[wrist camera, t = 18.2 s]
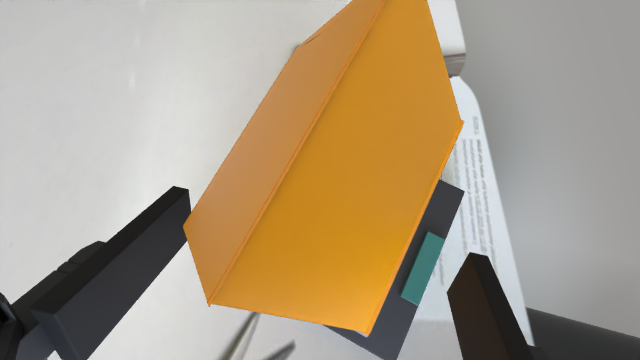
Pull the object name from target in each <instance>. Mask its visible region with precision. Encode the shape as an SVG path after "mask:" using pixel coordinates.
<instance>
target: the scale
mask: <svg viewBox="0 0 640 360" xmlns="http://www.w3.org/2000/svg"><path fill="white" fill-rule="evenodd" d="M464 192H465V191H463V190H461V189H459V188H456V187H454V186H452V185H450V184H448V183H446V182H444V181H441V180H438V183H437V185H436V187H435V189H434V192H433V194H432V196H431V198H430V201H429V203H428V205H427V207H426V209H425V212H424V214H423V216H422V218H421V221H420V223H419V225H418V227H417V230H416V232H415V234H414V236H413V238H412V241H411V243H410V245H409V247H408V250H407V252H406V254H405V256H404V259H403V261H402V263H401V265H400V268H399V270H398V272H397V274H396V276H395V279H394V281H393V283H392V285H391V288H390V290H389V292H388V294H387V297H386V299H385V301H384V303H383V306H382V308H381V310H380V312H379V314H378V317H377V319H376V321H375V323H374V326H373V328H372V330H371V332H370V334H369V336H367V335H365V334H363V333H361V332H360V331H355V330H350V329H345V328H339V327H334V326H328V325H324V326H326V327H328V328H329V329H331V330H333V331H335V332H336V333H338V334H340V335H342V336H343V337H345V338H347V339H349V340H350V341H352V342H354V343H355V344H357V345H359V346H361V347H362V348H364V349H366V350H368V351H369V352H371V353H373V354H375V355H376V356H378V357H380V358H382V359H383V360H396V359H397V357H398V355H399V352H400V350H401V347H402V345H403V342H404V340H405V337H406V335H407V332H408V330H409V328H410V325H411V323H412V320H413V318H414V315H415V313H416V310H417V308H418V305H419V303H420V301H421V298H422V296H423V293H424V291H425V288H426V286H427V283H428V281H429V278H430V276H431V274H432V271H433V269H434V266H435V264H436V261H437V259H438V256H439V254H440V251H441V249H442V247H443V244H444V242H445V239H446V237H447V234H448V232H449V229H450V227H451V224H452V222H453V219H454V217H455V215H456V212H457V210H458V207H459V205H460V202H461V200H462V197H463V195H464ZM322 325H323V324H322Z"/></svg>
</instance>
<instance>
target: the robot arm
mask: <svg viewBox="0 0 640 360" xmlns="http://www.w3.org/2000/svg"><path fill="white" fill-rule="evenodd" d="M190 214H191V206H190V198H189V190H188V189H185V188H180V187H176V186H173V187H172V188H170V189H169V190H168V191H167V192H166V193H164V194H163V195H162V196H161V197H160V198H159V199H157V200H156V201H155V202H154V203H153V204H151V205H150V206H149V207H148V208H147V209H145V210H144V211H143V212H142V213H141V214H140V215H138V216H137V217H136V218H135V219H134V220H132V221H131V222H130V223H129V224H128V225H126V226H125V227H124V228H123V229H122V230H120V231H119V232H118V233H117V234H116V235H115V236H113V237H112V238H111V239H110V240H109V241H107V242H106V243H105V242H101V241H97V242H95V243H93V244H91V245H89V246H87V247H84V248H82V249H81V250H80V251H78V252H77V253H76V254H75V255H73V256H72V257H71V258H70V259H69V260H68V262H65V263H63V264H62V265H61V266H60V267H58V269H57V270H56V271H53V272H52V273H51V274H49V275H48V276H47V277H46V278H44V279H43V280H42V281H41V282H39V283H38V284H37V285H36V286H34V287H33V288H32V289H31V290H29V291H28V292H27V293H26V294H24V295H23V296H22V297H20V298H19V299H18V300H17V301H15V302H14V303H13V304H11V305H10V303H9V302H8V300H7V299H6V298H5V296H4V295H3V294H2V293H0V360H48V359H47V358H48V357H49V356H50V354H51V353H52V352H53V351H54V350H56V352H57V353H58V355H59V356H60V358H61V359H62V360H87V359H88V358H89V357H90V356H91V354H92V353H93V352H94V351H95V350H96V348H97V347H98V346H99V345H100V344H101V342H102V341H103V340H104V339H105V338H106V337H107V335H108V334H109V333H110V332H111V331H112V329H113V328H114V327H115V326H116V325H117V323H118V322H119V321H120V320H121V319H122V318H123V316H124V315H125V314H126V313H127V312H128V310H129V309H130V308H131V307H132V306H133V304H134V303H135V302H136V301H137V300H138V299H139V297H140V296H141V295H142V294H143V293H144V291H145V290H146V289H147V288H148V287H149V285H150V284H151V283H152V282H153V281H154V280H155V278H156V277H157V276H158V275H159V274H160V272H161V271H162V270H163V269H164V268H165V266H166V265H167V264H168V263H169V262H170V261H171V259H172V258H173V257H174V256H175V255H176V253H177V252H178V251H179V250H180V249H181V247H182V246H183V245H184V244H185V243H186V242H187V237H186V234H185V231H184V229H183V225H184V223H185V222H186V220H187V219H188V217H189V215H190ZM447 295H448V300H449V304H450V308H451V312H452V316H453V320H454V324H455V328H456V332H457V336H458V341H459V345H460V349H461V353H462V357H463V360H550V359H549V357H548V356H547V355H546V354H545V353H544V351H543V350H542V349H541V348H538V347H534V346H529V345H527V343H526V340H525V338H524V336H523V334H522V331H521V329H520V327H519V325H518V323H517V320H516V318H515V316H514V314H513V311H512V309H511V307H510V305H509V302H508V300H507V298H506V296H505V294H504V291H503V289H502V287H501V285H500V282H499V280H498V278H497V276H496V274H495V271H494V269H493V267H492V265H491V262H490V260H489V258H488V256H485V255H480V254H476V253H471V252H470V253H469V254H468V256H467V258H466V260H465V261H464V263H463V265H462V267H461V268H460V270H459V272H458V274H457V275H456V277H455V279H454V281H453V282H452V284H451V286H450V288H449V289H448V291H447Z"/></svg>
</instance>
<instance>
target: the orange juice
mask: <svg viewBox="0 0 640 360" xmlns="http://www.w3.org/2000/svg"><path fill="white" fill-rule="evenodd" d="M464 122H465V121H463V120H461V118H460V115H459V111H458V108H457V104H456V101H455V97H454V94H453V90H452V87H451V83H450V80H449V76H448V73H447V69H446V66H445V62H444V59H443V55H442V51H441V48H440V44H439V41H438V37H437V34H436V30H435V27H434V23H433V20H432V16H431V13H430V9H429V6H428V2H427V0H353V1H352V2H350V3H349V4H348V5H347V6H346V7H345V8H343V9H342V10H341V11H340V12H339V13H337V14H336V15H335V16H334V17H333V18H332V19H330V20H329V21H328V22H327V23H326V24H325V25H323V26H322V27H321V28H320V29H319V30H317V31H316V32H315V33H314V34H313V35H312V36H310V37H309V38H308V39H307V40H306V41H305V42H303V43H302V44H301V45H300V46H299V47H297V48H296V49H295V50H294V52H293V53H292V55H291V57H290V58H289V60H288V61H287V63H286V64H285V66H284V68H283V69H282V71H281V72H280V74H279V75H278V77H277V79H276V80H275V82H274V83H273V85H272V86H271V88H270V90H269V91H268V93H267V94H266V96H265V97H264V99H263V101H262V102H261V104H260V105H259V107H258V108H257V110H256V112H255V113H254V115H253V116H252V118H251V119H250V121H249V123H248V124H247V126H246V127H245V129H244V131H243V132H242V134H241V135H240V137H239V138H238V140H237V142H236V143H235V145H234V146H233V148H232V149H231V151H230V153H229V154H228V156H227V157H226V159H225V160H224V162H223V164H222V165H221V167H220V168H219V170H218V171H217V173H216V175H215V176H214V178H213V179H212V181H211V182H210V184H209V186H208V187H207V189H206V190H205V192H204V193H203V195H202V197H201V198H200V200H199V201H198V203H197V204H196V206H195V208H194V209H193V211H192V212H191V214H190V215H189V217H188V219H187V220H186V222H185V223H184V225H183V229H184V231H185V234H186V237H187V240H188V244H189V247H190V250H191V253H192V256H193V259H194V262H195V265H196V268H197V272H198V275H199V278H200V281H201V284H202V287H203V290H204V293H205V296H206V299H207V303H208V306H209V307H210V305H211V304H216V305H222V306H227V307H232V308H238V309H243V310H248V311H254V312H259V313H264V314H270V315H275V316H280V317H286V318H291V319H296V320H302V321H307V322H312V323H318V324H323V325H328V326H334V327H339V328H345V329H350V330H355V331H360V332H361V333H363V334H365V335H367V336H369V334H370V332H371V330H372V328H373V326H374V323H375V321H376V319H377V317H378V314H379V312H380V310H381V308H382V306H383V303H384V301H385V299H386V297H387V294H388V292H389V290H390V288H391V285H392V283H393V281H394V279H395V276H396V274H397V272H398V270H399V268H400V265H401V263H402V261H403V259H404V256H405V254H406V252H407V250H408V247H409V245H410V243H411V241H412V238H413V236H414V234H415V232H416V230H417V227H418V225H419V223H420V221H421V218H422V216H423V214H424V212H425V209H426V207H427V205H428V203H429V201H430V198H431V196H432V194H433V192H434V189H435V187H436V185H437V183H438V180H439V178H440V176H441V174H442V171H443V169H444V167H445V165H446V163H447V160H448V158H449V156H450V154H451V151H452V149H453V147H454V145H455V142H456V140H457V138H458V136H459V133H460V131H461V129H462V127H463V124H464Z"/></svg>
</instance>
